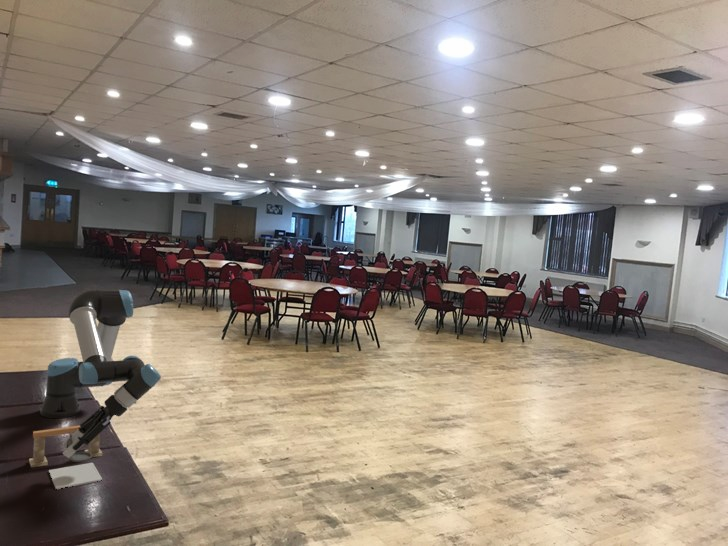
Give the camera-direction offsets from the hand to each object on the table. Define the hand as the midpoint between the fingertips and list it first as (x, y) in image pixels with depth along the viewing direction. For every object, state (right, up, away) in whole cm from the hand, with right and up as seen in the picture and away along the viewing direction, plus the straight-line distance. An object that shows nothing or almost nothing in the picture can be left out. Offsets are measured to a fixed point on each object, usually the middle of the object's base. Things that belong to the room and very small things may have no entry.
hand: (65, 450), depth 186 cm
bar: (-6, +2, +13) cm, 15 cm away
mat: (+2, -10, +3) cm, 10 cm away
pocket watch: (+3, -4, +2) cm, 5 cm away
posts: (-7, -8, +14) cm, 18 cm away
